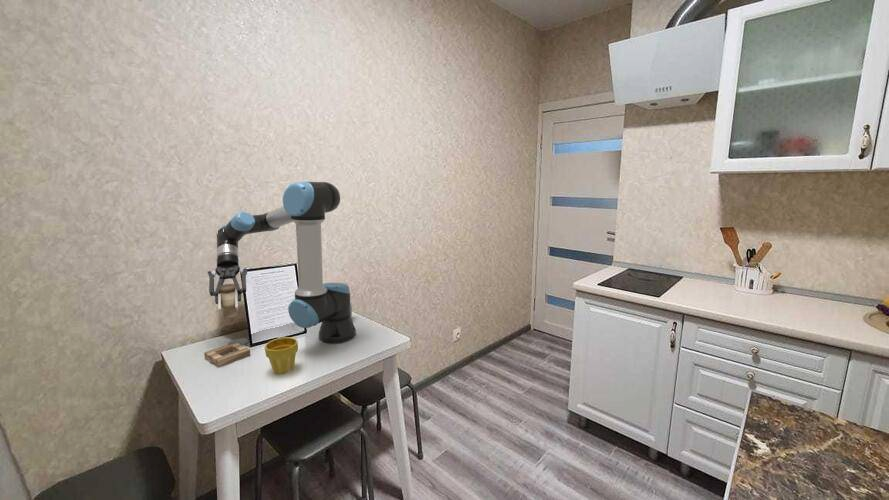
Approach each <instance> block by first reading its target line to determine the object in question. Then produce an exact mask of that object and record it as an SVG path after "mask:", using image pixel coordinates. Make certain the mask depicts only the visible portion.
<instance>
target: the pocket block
mask: <svg viewBox="0 0 889 500" xmlns="http://www.w3.org/2000/svg"><path fill="white" fill-rule="evenodd" d="M203 353H204V358H205V360H207V361H208V362H209V363H212V364H213V365H214V366H216V367H217V368H221V367H224V366H226V365H229V364H232V363H234V362H237V361H239V360H240V361H241V360H242V359H245V358H247V357H250V356H251V349H250V348H248V347H246V346H245V345H241V344H239V343H237V342H233V343H231V344H228V343H227V344H224V345H222V346H219V347H217V348H213V349H211V350H207V351H205V352H203Z"/></svg>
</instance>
